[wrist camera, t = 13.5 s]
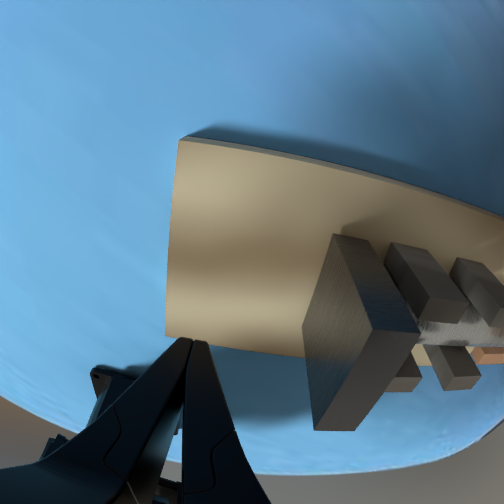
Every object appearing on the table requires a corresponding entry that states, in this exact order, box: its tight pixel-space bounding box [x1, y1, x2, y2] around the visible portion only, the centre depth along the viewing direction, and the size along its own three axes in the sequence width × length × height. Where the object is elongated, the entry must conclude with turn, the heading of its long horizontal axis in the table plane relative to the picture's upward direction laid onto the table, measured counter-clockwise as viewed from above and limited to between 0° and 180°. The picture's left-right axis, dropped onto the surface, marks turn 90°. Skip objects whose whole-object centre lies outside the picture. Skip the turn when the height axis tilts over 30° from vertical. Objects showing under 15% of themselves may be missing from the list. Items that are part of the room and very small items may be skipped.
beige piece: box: [165, 136, 504, 392], centre depth 13 cm, size 10×19×5 cm, turn 80°
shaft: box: [302, 233, 504, 431], centre depth 12 cm, size 5×14×6 cm, turn 80°
